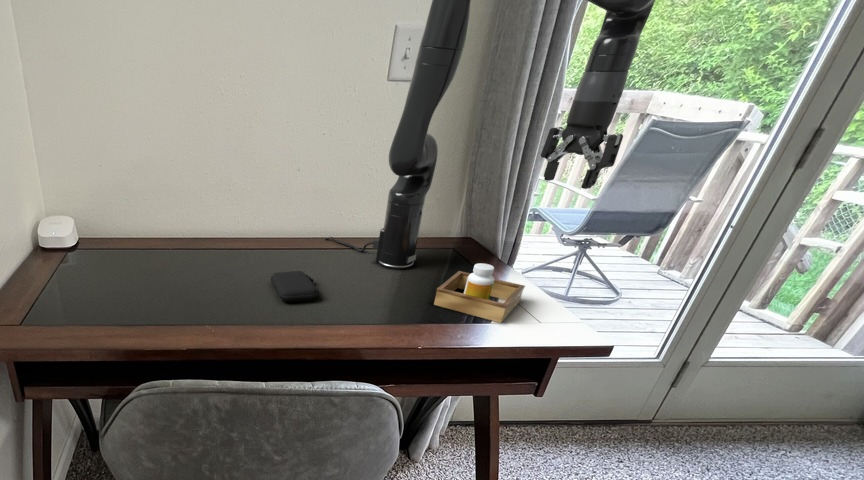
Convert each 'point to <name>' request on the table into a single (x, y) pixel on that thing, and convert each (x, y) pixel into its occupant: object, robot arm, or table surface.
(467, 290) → the supplement bottle
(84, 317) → the table surface
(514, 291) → the wooden box frame
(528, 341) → the table surface
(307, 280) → the carrying case
